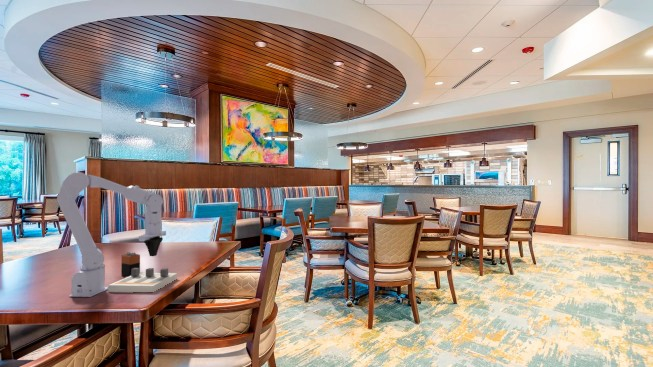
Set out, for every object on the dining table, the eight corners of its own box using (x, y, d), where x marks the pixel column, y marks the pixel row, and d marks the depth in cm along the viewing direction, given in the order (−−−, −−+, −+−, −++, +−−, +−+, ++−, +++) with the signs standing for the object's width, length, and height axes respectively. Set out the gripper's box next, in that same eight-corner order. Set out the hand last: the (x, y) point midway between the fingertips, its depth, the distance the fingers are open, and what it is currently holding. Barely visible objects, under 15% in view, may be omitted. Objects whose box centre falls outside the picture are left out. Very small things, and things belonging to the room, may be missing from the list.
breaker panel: (153, 292, 109) (153, 285, 109) (108, 292, 110) (108, 284, 110) (177, 279, 125) (177, 272, 125) (137, 278, 126) (137, 272, 126)
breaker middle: (150, 276, 119) (150, 269, 119) (145, 276, 119) (145, 269, 119) (153, 275, 121) (153, 268, 121) (148, 275, 121) (148, 268, 121)
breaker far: (136, 276, 119) (136, 269, 119) (131, 276, 120) (131, 269, 120) (139, 274, 121) (139, 267, 121) (134, 274, 122) (134, 267, 122)
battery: (130, 278, 126) (130, 254, 126) (120, 275, 129) (120, 252, 130) (140, 275, 130) (140, 252, 130) (131, 273, 133) (131, 250, 133)
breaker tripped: (165, 276, 119) (165, 269, 119) (160, 276, 119) (160, 269, 119) (168, 275, 121) (168, 268, 121) (163, 275, 121) (163, 268, 121)
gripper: (151, 225, 115) (150, 260, 115) (173, 220, 130) (172, 252, 129) (133, 224, 116) (133, 259, 115) (157, 220, 130) (157, 251, 130)
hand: (153, 255), depth 122 cm, fingers closed
